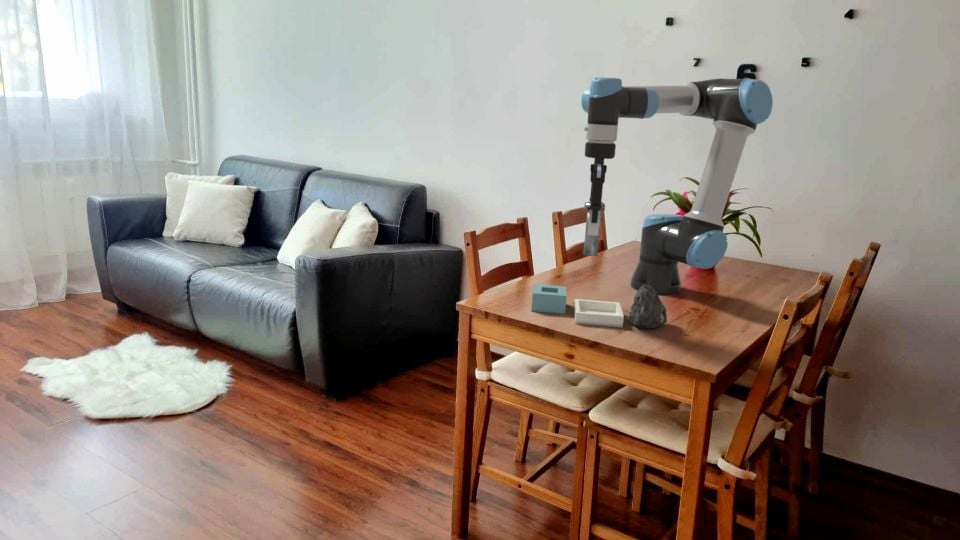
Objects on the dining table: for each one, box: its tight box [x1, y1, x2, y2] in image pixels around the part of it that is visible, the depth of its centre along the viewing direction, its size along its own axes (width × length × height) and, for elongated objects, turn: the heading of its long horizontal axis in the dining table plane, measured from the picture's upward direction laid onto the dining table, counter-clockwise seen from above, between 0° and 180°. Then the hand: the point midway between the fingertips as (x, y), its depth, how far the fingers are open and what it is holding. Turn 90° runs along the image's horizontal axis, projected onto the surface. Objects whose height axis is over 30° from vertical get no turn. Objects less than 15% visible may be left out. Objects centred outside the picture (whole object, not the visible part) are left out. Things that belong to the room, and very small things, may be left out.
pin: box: [583, 201, 606, 257], centre depth 174 cm, size 5×5×13 cm
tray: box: [573, 298, 624, 328], centre depth 178 cm, size 12×12×3 cm
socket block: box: [531, 283, 567, 315], centre depth 185 cm, size 9×9×5 cm
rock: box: [626, 285, 668, 329], centre depth 174 cm, size 12×10×10 cm
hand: (592, 232), depth 174 cm, fingers closed on pin, 5 cm apart
